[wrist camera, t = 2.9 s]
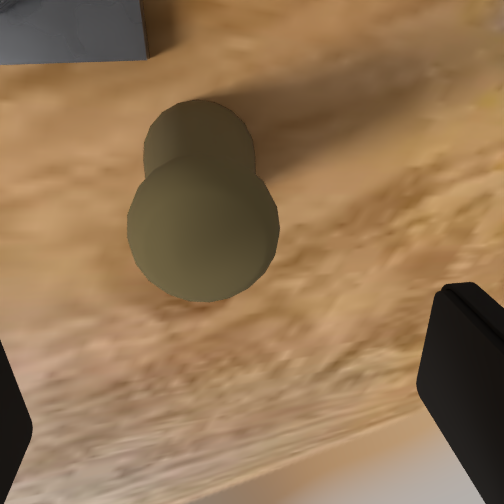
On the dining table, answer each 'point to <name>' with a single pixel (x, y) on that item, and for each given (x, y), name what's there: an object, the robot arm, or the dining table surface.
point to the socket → (72, 31)
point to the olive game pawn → (201, 206)
